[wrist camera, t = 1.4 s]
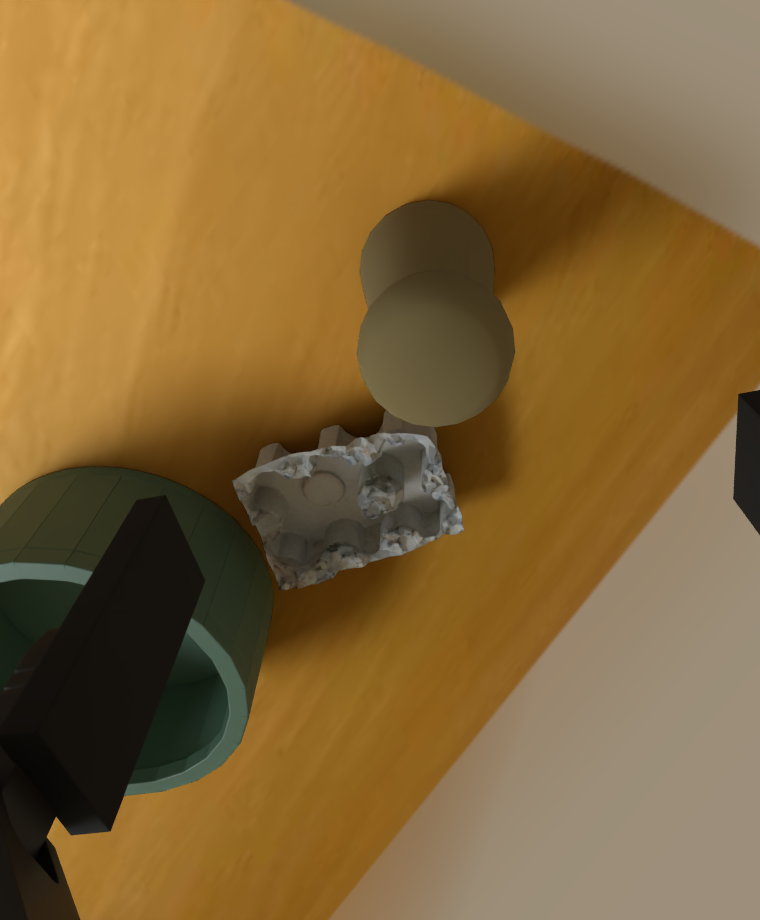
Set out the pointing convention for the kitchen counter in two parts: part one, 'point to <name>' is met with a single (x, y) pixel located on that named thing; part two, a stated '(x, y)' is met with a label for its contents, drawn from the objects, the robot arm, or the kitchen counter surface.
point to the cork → (432, 316)
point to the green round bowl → (210, 629)
